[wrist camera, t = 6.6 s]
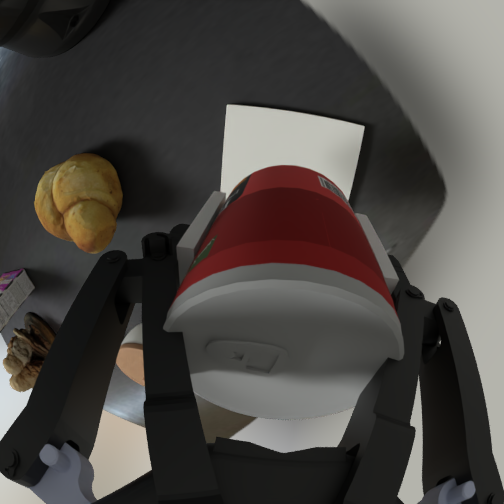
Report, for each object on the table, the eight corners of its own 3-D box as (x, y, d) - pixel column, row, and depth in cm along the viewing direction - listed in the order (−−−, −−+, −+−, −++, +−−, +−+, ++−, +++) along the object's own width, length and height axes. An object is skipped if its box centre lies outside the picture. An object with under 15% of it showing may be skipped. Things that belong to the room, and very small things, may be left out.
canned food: (222, 159, 16) (128, 267, 6) (359, 166, 15) (448, 285, 6) (228, 267, 20) (183, 409, 11) (341, 273, 19) (365, 421, 10)
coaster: (229, 104, 22) (227, 104, 21) (361, 125, 22) (364, 126, 21) (220, 221, 29) (218, 226, 28) (335, 238, 28) (336, 243, 27)
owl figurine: (17, 300, 45) (-23, 352, 31) (51, 318, 45) (11, 379, 31) (39, 347, 55) (11, 393, 40) (71, 364, 55) (44, 416, 41)
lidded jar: (166, 298, 36) (140, 352, 28) (213, 346, 40) (199, 399, 32) (122, 318, 40) (96, 363, 32) (166, 359, 44) (149, 403, 36)
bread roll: (63, 223, 32) (26, 255, 25) (47, 156, 26) (2, 179, 20) (138, 225, 30) (103, 264, 24) (125, 143, 25) (78, 165, 18)
